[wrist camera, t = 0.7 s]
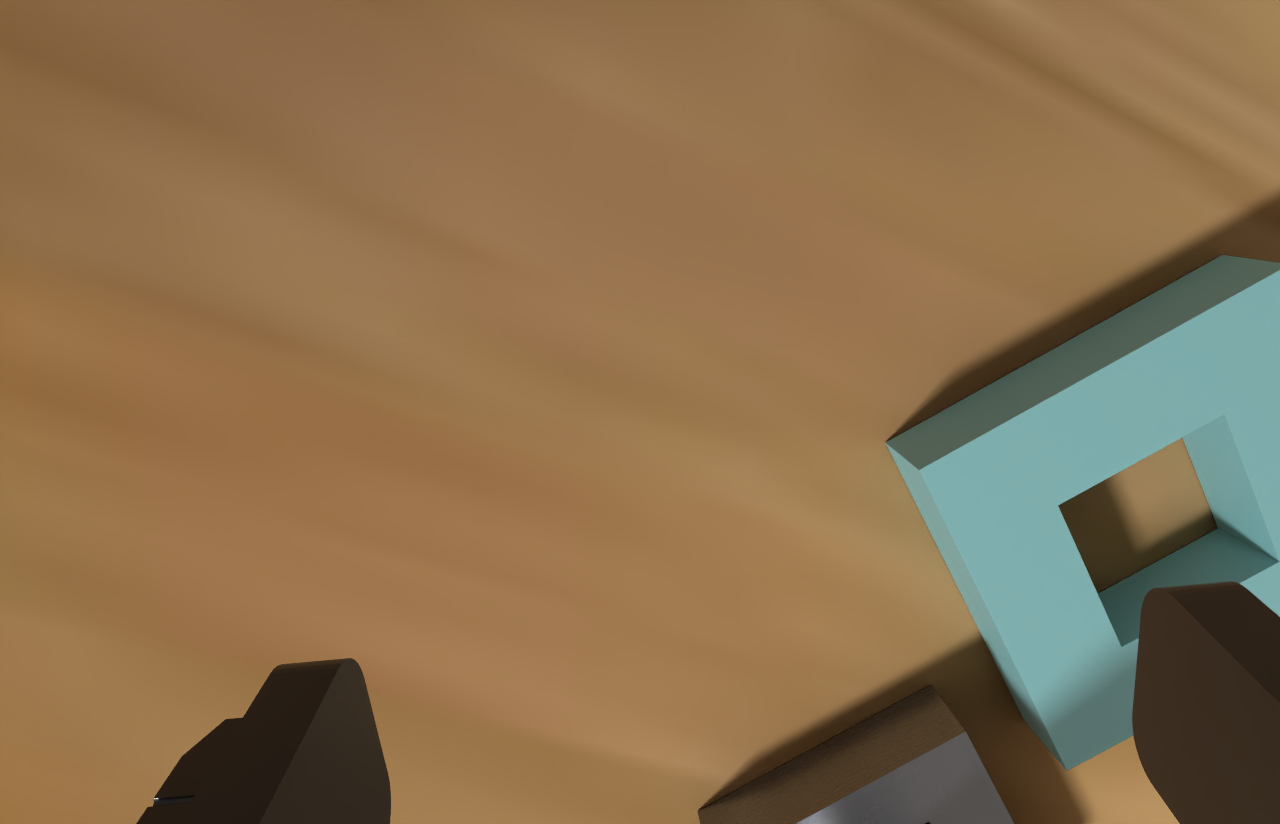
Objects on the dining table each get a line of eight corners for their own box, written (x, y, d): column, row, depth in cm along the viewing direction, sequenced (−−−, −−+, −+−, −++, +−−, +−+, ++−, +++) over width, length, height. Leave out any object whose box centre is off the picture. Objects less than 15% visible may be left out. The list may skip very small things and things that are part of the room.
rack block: (885, 442, 32) (919, 470, 29) (1222, 254, 32) (1290, 263, 29) (1024, 721, 36) (1067, 770, 33) (1330, 556, 35) (1399, 592, 33)
